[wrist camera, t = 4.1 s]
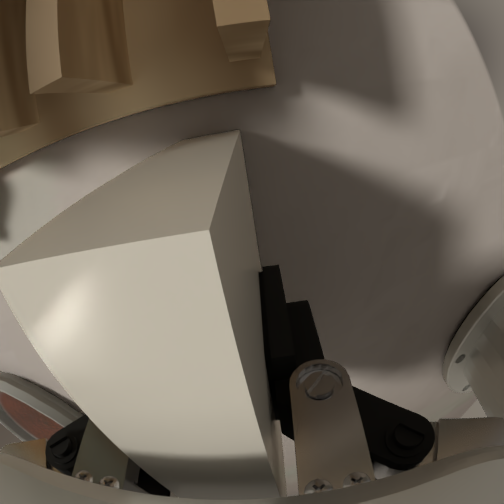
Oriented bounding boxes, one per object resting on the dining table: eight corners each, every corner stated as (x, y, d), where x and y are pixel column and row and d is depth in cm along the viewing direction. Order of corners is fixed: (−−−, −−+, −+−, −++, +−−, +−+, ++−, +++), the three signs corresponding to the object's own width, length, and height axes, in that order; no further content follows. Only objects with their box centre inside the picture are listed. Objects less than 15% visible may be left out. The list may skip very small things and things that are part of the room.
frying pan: (130, 500, 29) (-35, 395, 18) (132, 485, 32) (-25, 379, 20) (219, 500, 25) (-5, 369, 14) (220, 480, 28) (11, 343, 16)
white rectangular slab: (239, 130, 10) (209, 229, 2) (273, 350, 15) (289, 525, 7) (181, 140, 10) (-10, 269, 2) (232, 354, 15) (227, 528, 7)
